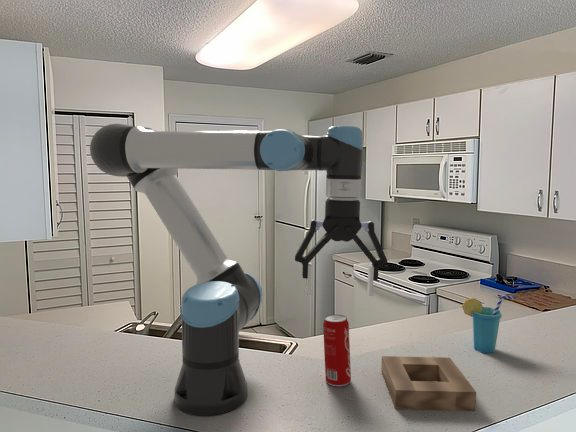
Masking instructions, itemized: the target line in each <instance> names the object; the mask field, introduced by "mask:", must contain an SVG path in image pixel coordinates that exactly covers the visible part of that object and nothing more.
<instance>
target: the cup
mask: <svg viewBox="0 0 576 432" xmlns="http://www.w3.org/2000/svg"><path fill="white" fill-rule="evenodd" d="M504 299H508V300H509V299H510V300H516V296H513V295H507V294H503V295H501V296H499V298H498V301H497V304H496V306H495V308H492V307H487V306H486V307H485V306H483V304H482V301H481V300H479V299H477V298H475V297H470V298H468V299H465V300H464V301H463V304H462V305H461V308H462V310H463V313H464V314H465V315H467V316H470V317H472V333H473V335H472V336H473V337H472V338H473V339H472V340H473V349H474V350H475V351H476V352H479V353H482V354H483V353H484V354H493V353H495V352H496V346H497V339H498V334H499V328H500V327H499V326H500V321H501V319H502V316H503V314H502V312H501V310H499V309H500V307H501V304H502V302H503V300H504Z"/></svg>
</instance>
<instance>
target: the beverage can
mask: <svg viewBox="0 0 576 432" xmlns="http://www.w3.org/2000/svg"><path fill="white" fill-rule="evenodd" d="M349 324H350V323H349V321H348V318H347V316H345V315H343V314H329V315H326V316H324V320H323V323H322V326H323V328H322V329H323V331H322V332H323V348H324V349H323V351H324V352H323V353H324V371H325V382H326V383H327V384H328V385H330V386H333V387H345V386H347V385H349V384H350V382H351V381H352V373H351V371H352V370H351V347H350V325H349Z"/></svg>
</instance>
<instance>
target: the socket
mask: <svg viewBox="0 0 576 432" xmlns="http://www.w3.org/2000/svg"><path fill="white" fill-rule="evenodd" d="M380 368H381V372H382V373H381V372H380V373H381V375H383V376H382V378H383V380H385V381H384V383H386V384H385V386H386V388H387V391H389V392H388V394H389V396H390V400H391V402H392V404H393V407H394V409H395V410H424V411H425V410H426V411H428V410H429V411H454V412H455V411H458V412H459V411H462V412H463V411H464V412H467V411H468V412H476V409H477V408H476V403H477V391H476V390H475V388H474V387H473V386H472V384H471V383H470V382H469V381H468V379H467V378H466V376H465V375H464V374H463V372H462V371H461V370H460V369H459V367H458V366H457V365H456V364H455V362H454V361H453V360H452V358H451V357H440V356H437V357H436V356H435V357H433V356H432V357H431V356H395V355H387V356H386V355H385V356H384V355H382V356H381V367H380ZM433 381H437V382H433Z"/></svg>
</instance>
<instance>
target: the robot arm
mask: <svg viewBox="0 0 576 432" xmlns="http://www.w3.org/2000/svg"><path fill="white" fill-rule="evenodd" d="M363 145H364V142H363V131H362V129H361V128H359V126H353V125H337V126H336V125H335V126H330V127H329V128H328V129H327V133H326V135H318V136H317V135H301V134H298V133H296V132H294V131H292V130H290V129H283V128H278V129H274V130H262V131H260V130H219V131H218V130H197V131H196V130H194V131H193V130H192V131H190V130H187V131H186V130H184V131H183V130H181V131H179V130H177V131H175V130H173V131H172V130H171V131H170V130H168V131H167V130H164V131H163V130H161V131H160V130H156V129H155V128H154V129H153V128H150V127H144V126H143V127H142V126H141V125H140V126H139V125H138V126H137V125H136V126H135V125H128V124H124V123H111V124H107V125H105V126H102V127H101V128H100V129H98V130H97V131H96V132H95V133H94V135H93V136H92V138H91V141H90V145H89V154H90V156H91V159H92V161H93V163H94V165H95V166H96V167H97V168H98V170H100V171H101V172H103V173H105V174H107V175H109V176H113V177H119V178H120V177H126V179H128V181H129V183H130V184H131V186H132V188H133V189H134V191H135V192H137V193H140V194H141V193H142V194H144V195H145V196H146V198H147V200H148V201H149V203H150V205H151V206H152V208H153V209H154V211H155V212H156V215H157V216H158V218H159V219H160V220H161V222H162V223H163V225H164V226H165V228H166V230H167V232H168V233H169V235H170V236H171V239H172V240H173V241H174V243H175V245H176V246H177V248H178V250H179V251H180V253H181V254H182V256H183V258H184V260H185V261H186V262H187V264H188V265H189V267H190V269H191V271H192V273H193V274H194V275H195V277H196V284H194V285H193V286H191V287H189V288H188V289H187V290H185V292H184V293H183V295H182V298H181V306H180V317H181V344H182V345H181V348H182V349H181V351H182V353H181V354H182V364H181V368H180V370H179V374H178V377H177V381H176V382H175V386H174V403H175V406H176V407H177V408H179V410H180V411H182V412H184V413H186V414H189V415H195V416H205V417H206V416H216V415H217V416H218V415H221V414H225V413H228V412H231V411H233V410H235V409H238V408H239V407H240V406H241V405H243V404H244V402H245V401H246V400H247V398H248V383H247V380H246V376H245V373H244V370H243V367H242V365H241V362H240V359H239V358H240V356H239V354H240V353H239V351H240V350H239V347H240V343H239V342H240V339H239V336H240V334H239V333H240V332H241V331H242V329H243V328H245V326H246V325H247V324H249V322H250V321H252V320H253V319H254V318H255V316H256V315H257V313H258V312H259V309H260V307H261V306H262V302H263V292H262V287H261V285H260V283H259V281H258V280H257V278H255V277H254V276H253V275H251V274H250V273H247V272H245V271H244V270H243V268H242V267H241V265H240V264H239V262H238V261H236V260H232V259H229V258H228V257H227V254H226V253H225V251H224V250H223V248H222V247H221V245H220V244H219V242H218V240H217V239H216V237H215V235H214V234H213V232H212V230H211V229H210V227H209V226H208V224H207V223H206V221H205V220H204V217H203V215H202V214H201V213H200V211H199V210H198V208H197V206H196V204H195V203H194V201H193V200H192V198H191V197H190V195H189V194H188V192H187V190H186V189H185V187H184V185H183V184H182V182H181V181H180V179H179V177H178V171H179V170H180V169H182V170H184V169H186V170H187V169H188V170H191V169H193V170H194V169H196V170H252V171H253V170H255V171H257V170H260V171H276V172H277V171H278V172H290V171H321V172H322V171H326V175H325V176H326V177H325V178H326V180H325V196H326V197H327V198H326V199H325V205H324V206H325V207H324V220H316V219H314V218H312V219H311V220H310V224H309V229H308V231H307V233H306V235H305V237H304V239H303V240H302V242H301V244H300V246H299V248H298V250H297V252H296V253H295V255H294V260H295V262H297V263H301V265H302V274H301V275H302V278H303V279H306V280H307V281H306V285H307V286H306V293H307V294H306V295H311V293H312V268H313V267H312V262H311V261H312V260H313V259H314V258H315V257H316V255H318V254H319V252H320V251H321V250H322V249H323V248H324V247H325V246H326V244H328V243H329V242H330V241H331V240H332V241H334V242H346V243H348V242H350V241H354V242H355V244H356V245H357V247H359V248H360V250H361V251H362V252H363V254H364V255H365V256H366V258H367V259H368V260H369V261H370V262H371V264H368V267H367V288H366V290H367V291H366V294H367V295H368V297H373V295H374V291H373V290H374V281H375V282H376V281H378V280H379V268H380V266H381V265H386V264H388V259H387V256H386V253H385V252H384V250H383V248H382V245H381V243H380V241H379V239H378V237H377V233H376V231H375V223H374V222H373V221H372V220H367V221H364V222H363V221H362V222H361V220H360V216H361V215H360V213H361V201H360V200H358V199H359V198H360V197H361V193H362V191H361V186H362V184H361V183H362V169H363V168H362V167H363V149H364V147H363ZM320 228H322V229H324V231H325V233H324V234H323V236H322V237H321V238H320V239H319V240H318V241H317V242H316V244H314V245H313V247H312V248H311V249H310V250H309V251H308V253H307V254H306V255H305V256H303V255H304V254H305V253H306V250H307V249H308V246H310V243H311V241H312V239H313V237H314V235H315V234H316V233H315V232H316V231H319V230H320ZM361 229H363V230H364V231H365V232H366V233H367V234H368V237H369V239H370V241H371V243H372V246H373V247H374V250H375V251H376V254H377V256H378V257H377V258H376V257H375V256H374V254H372V252H371V251H370V250H369V249H368V247H367V246H366V244H365V243H364V242H363V241H362V239H361V238H360V237H359V236H358V235H357V234H358V233H359V231H360V230H361Z"/></svg>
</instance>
